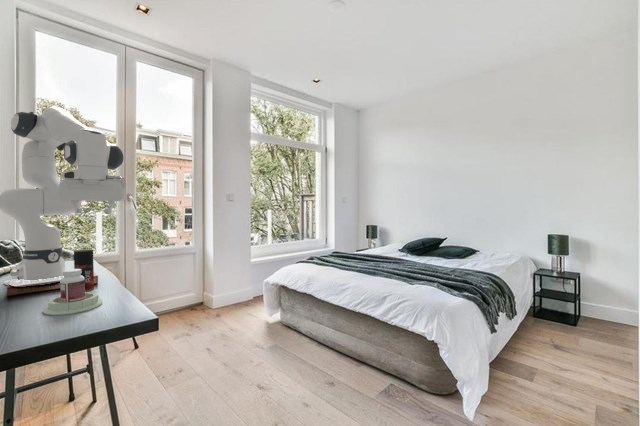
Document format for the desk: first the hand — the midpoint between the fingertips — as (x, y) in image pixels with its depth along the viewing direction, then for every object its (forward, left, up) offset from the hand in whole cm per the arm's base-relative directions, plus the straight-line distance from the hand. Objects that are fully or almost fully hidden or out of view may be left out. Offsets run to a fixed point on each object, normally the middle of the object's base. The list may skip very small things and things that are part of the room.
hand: (93, 213), depth 114 cm
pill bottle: (+7, -13, -29) cm, 32 cm away
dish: (+7, -12, -29) cm, 33 cm away
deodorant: (-11, +4, -30) cm, 32 cm away
